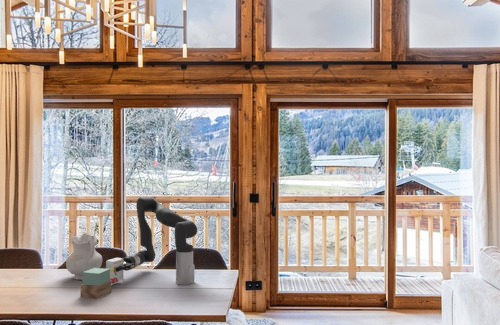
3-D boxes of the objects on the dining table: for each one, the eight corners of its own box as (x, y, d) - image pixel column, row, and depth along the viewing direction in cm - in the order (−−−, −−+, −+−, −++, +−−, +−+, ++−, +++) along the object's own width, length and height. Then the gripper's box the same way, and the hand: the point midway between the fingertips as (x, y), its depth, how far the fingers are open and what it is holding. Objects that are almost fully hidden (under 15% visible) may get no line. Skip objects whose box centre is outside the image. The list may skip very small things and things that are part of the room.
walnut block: (111, 292, 197) (111, 280, 197) (97, 299, 187) (98, 286, 187) (94, 291, 200) (94, 279, 200) (80, 297, 190) (80, 284, 190)
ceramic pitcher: (111, 278, 226) (114, 235, 228) (80, 284, 209) (84, 236, 211) (87, 273, 237) (90, 231, 239) (57, 278, 221) (61, 233, 223)
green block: (109, 281, 196) (110, 269, 197) (98, 286, 188) (98, 273, 188) (94, 279, 199) (94, 267, 199) (82, 284, 190) (82, 272, 190)
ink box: (112, 284, 205) (112, 261, 206) (105, 283, 207) (105, 260, 208) (124, 279, 213) (124, 258, 213) (116, 278, 215) (116, 257, 215)
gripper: (119, 254, 226) (100, 261, 210) (141, 256, 222) (123, 263, 206) (119, 267, 226) (100, 275, 210) (141, 269, 222) (123, 277, 206)
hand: (111, 269), depth 208 cm, fingers closed on ink box, 5 cm apart
